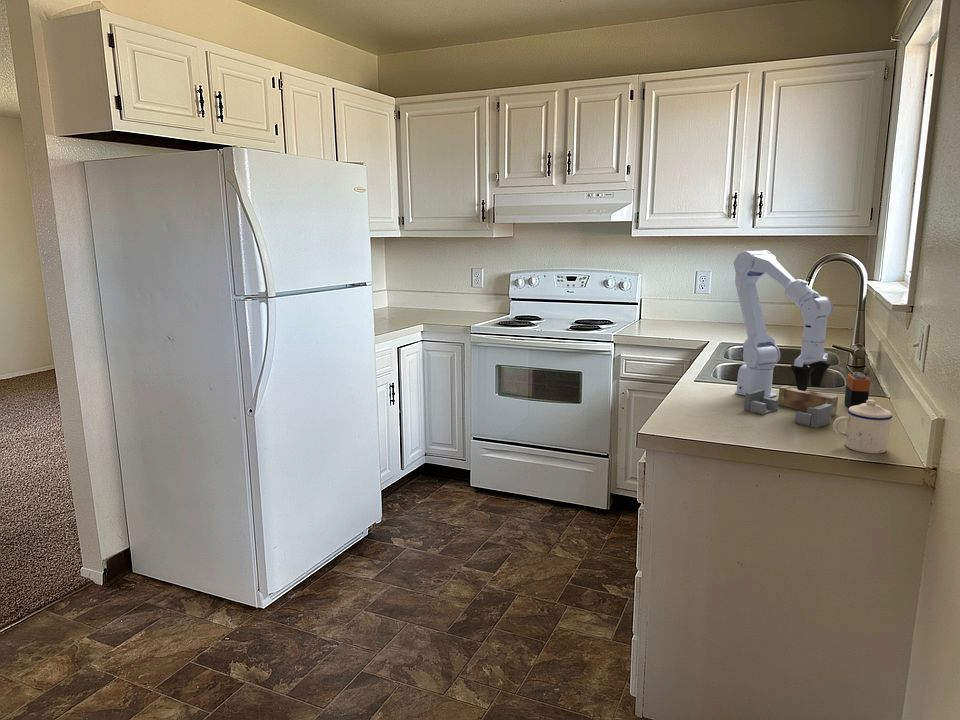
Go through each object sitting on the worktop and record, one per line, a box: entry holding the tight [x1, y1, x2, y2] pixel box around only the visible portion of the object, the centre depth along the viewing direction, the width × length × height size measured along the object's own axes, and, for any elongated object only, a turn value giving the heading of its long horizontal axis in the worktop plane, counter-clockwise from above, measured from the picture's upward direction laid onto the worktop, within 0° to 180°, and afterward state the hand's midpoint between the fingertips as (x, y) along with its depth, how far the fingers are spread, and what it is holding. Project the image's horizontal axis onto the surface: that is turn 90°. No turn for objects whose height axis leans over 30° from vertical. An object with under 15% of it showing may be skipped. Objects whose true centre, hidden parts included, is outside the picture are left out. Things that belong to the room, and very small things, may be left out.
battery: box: [843, 371, 871, 409], centre depth 188 cm, size 4×7×10 cm, turn 165°
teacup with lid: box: [832, 398, 893, 454], centre depth 155 cm, size 12×9×12 cm
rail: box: [777, 385, 839, 417], centre depth 186 cm, size 15×3×5 cm, turn 37°
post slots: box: [743, 389, 832, 429], centre depth 180 cm, size 21×7×5 cm, turn 37°
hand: (808, 388), depth 185 cm, fingers open, 7 cm apart
